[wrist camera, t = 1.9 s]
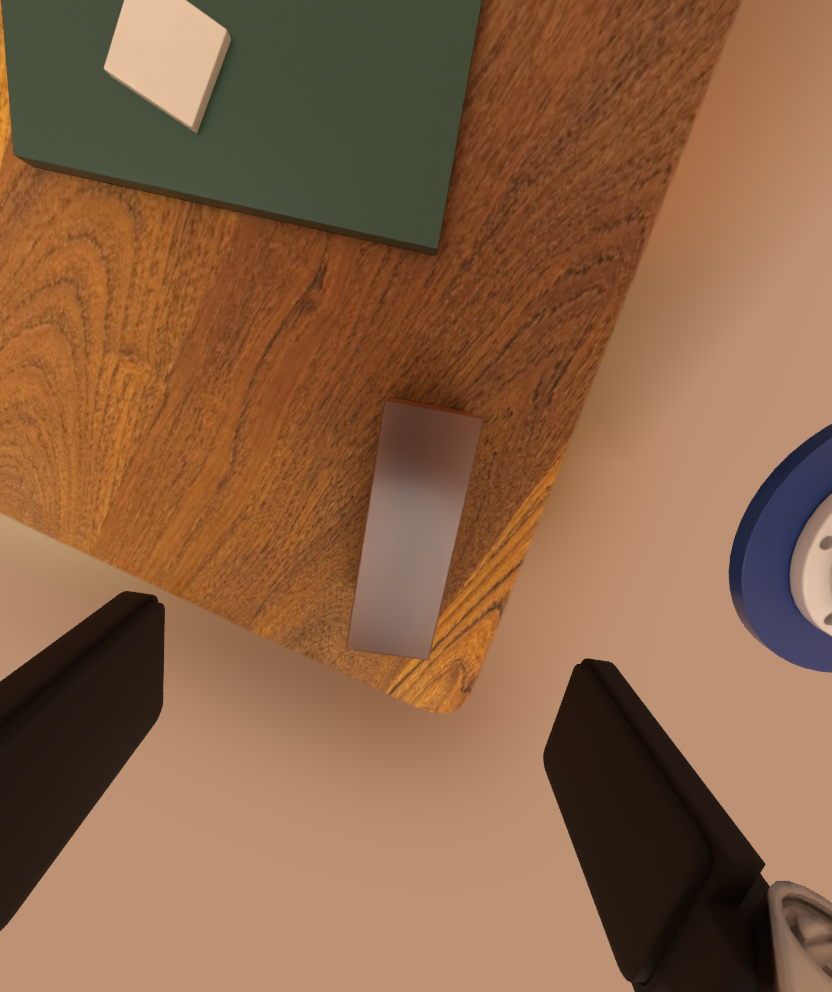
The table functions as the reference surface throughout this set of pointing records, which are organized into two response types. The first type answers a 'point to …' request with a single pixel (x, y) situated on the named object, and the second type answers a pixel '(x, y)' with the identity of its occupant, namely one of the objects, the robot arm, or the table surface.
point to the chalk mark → (168, 56)
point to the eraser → (411, 526)
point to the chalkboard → (262, 110)
